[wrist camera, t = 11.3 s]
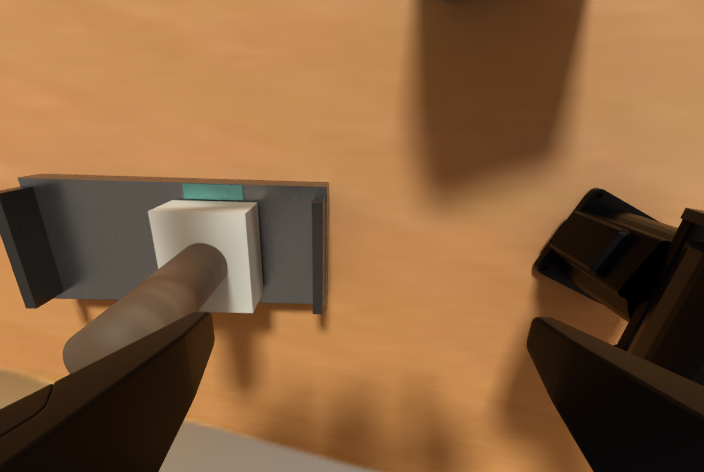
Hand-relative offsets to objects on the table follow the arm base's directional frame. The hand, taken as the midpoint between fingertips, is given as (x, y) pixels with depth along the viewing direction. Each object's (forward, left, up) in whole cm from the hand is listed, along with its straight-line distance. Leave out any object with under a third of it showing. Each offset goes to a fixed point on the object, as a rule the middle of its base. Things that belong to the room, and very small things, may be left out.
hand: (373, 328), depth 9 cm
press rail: (+9, +7, -13) cm, 17 cm away
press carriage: (+7, +6, -11) cm, 14 cm away
